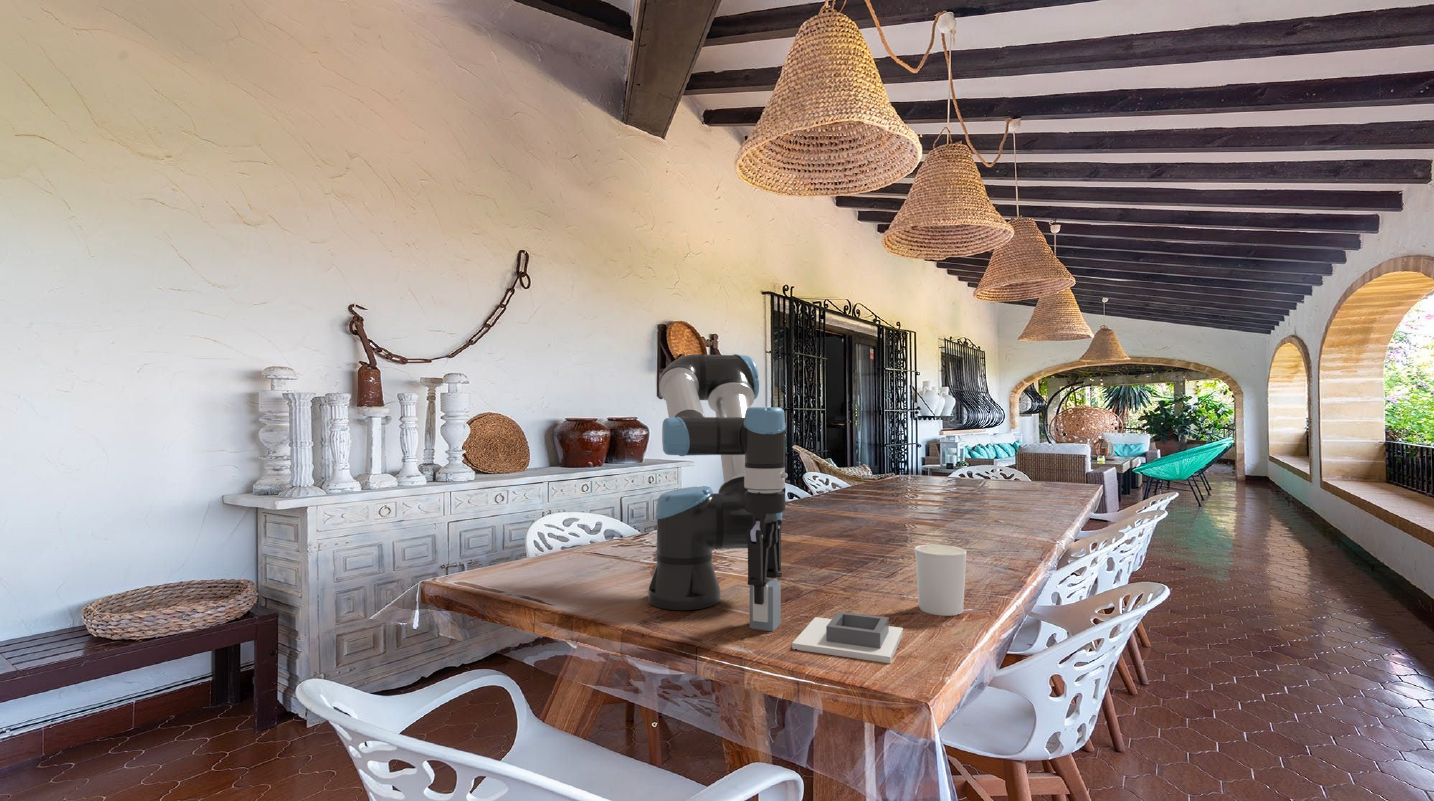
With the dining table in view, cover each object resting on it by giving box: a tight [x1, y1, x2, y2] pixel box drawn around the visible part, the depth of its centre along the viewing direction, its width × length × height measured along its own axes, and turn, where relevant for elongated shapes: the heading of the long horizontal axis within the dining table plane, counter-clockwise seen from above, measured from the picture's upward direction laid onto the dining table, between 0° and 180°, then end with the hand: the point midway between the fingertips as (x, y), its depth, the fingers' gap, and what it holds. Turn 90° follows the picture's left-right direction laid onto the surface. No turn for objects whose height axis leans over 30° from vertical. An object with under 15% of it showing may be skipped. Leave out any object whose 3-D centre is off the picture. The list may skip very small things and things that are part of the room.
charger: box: [749, 579, 782, 632], centre depth 122 cm, size 4×4×8 cm
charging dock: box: [791, 611, 904, 664], centre depth 114 cm, size 16×15×4 cm
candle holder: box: [914, 544, 968, 617], centre depth 132 cm, size 10×10×12 cm
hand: (765, 616), depth 122 cm, fingers closed on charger, 4 cm apart
